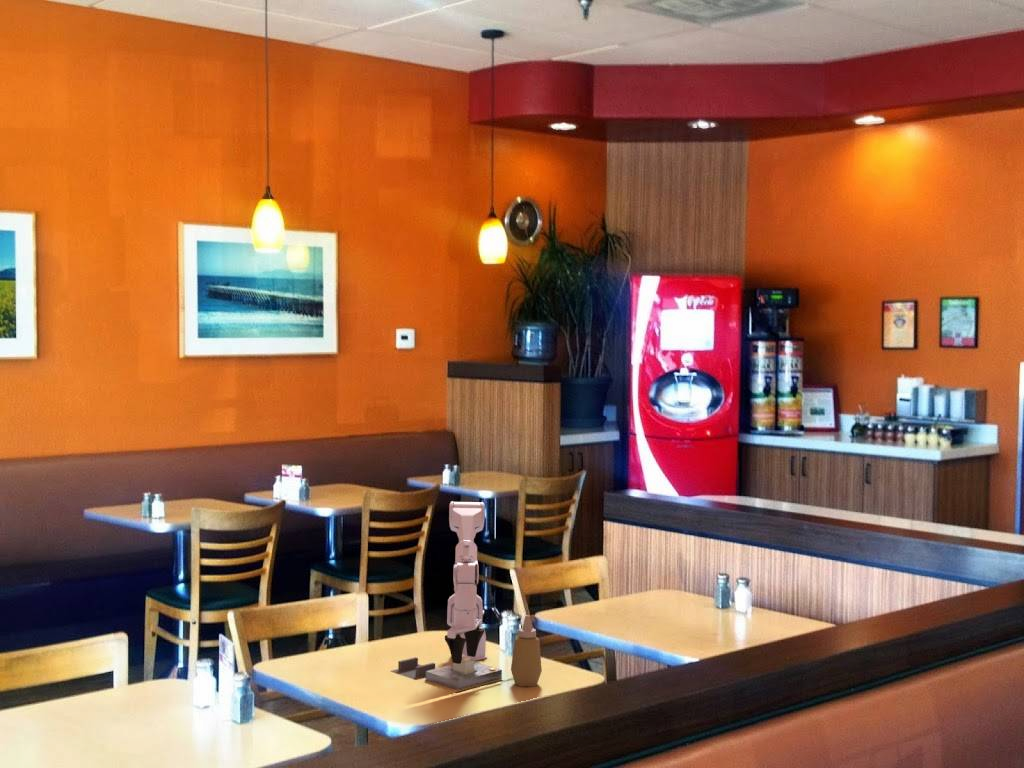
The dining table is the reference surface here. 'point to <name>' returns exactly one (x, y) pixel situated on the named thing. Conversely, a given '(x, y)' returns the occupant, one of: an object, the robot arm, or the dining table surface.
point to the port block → (464, 676)
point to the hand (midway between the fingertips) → (464, 659)
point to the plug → (464, 665)
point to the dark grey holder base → (413, 668)
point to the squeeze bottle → (526, 656)
